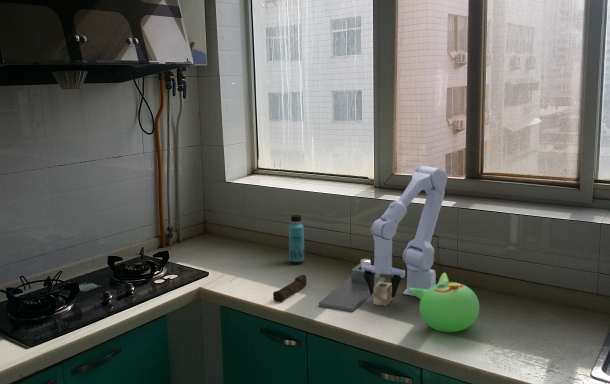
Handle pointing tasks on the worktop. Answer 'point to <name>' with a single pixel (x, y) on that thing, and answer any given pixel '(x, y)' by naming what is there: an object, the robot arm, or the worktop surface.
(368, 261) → the press pin
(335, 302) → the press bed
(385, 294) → the block
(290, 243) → the beverage bottle
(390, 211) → the robot arm
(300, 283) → the hand tool
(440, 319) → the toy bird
